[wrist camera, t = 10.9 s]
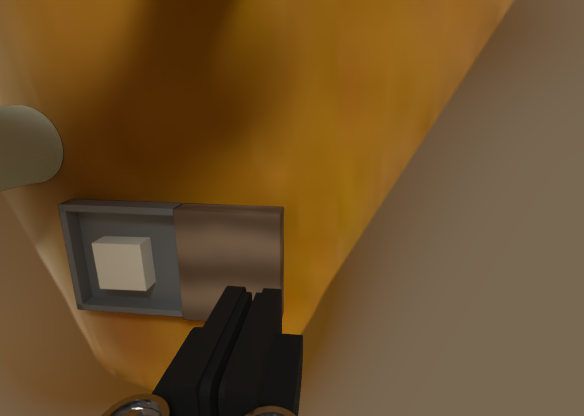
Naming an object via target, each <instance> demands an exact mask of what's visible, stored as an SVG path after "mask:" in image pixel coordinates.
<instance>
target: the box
mask: <svg viewBox="0 0 584 416" xmlns="http://www.w3.org/2000/svg"><path fill="white" fill-rule="evenodd" d="M181 205H182V203H167V202H141V201H114V200H87V199H72V200H69V201H66V202H63V203H60V204H58V208H59V214H60V219H61V224H62V229H63V235H64V240H65V245H66V250H67V256H68V261H69V266H70V271H71V277H72V282H73V287H74V293H75V298H76V303H77V308H78V309H79V310H93V311H107V312H121V313H135V314H149V315H163V316H177V317H183V310H182V299H181V288H180V277H179V266H178V255H177V245H176V234H175V223H174V212H173V210H174V209H176V208H178V207H179V206H181ZM103 236H121V237H150V241H151V248H152V256H153V263H154V270H155V278H156V282H155V283H154V284H153V285H152V286H151V287H150V288H149V289H148V290H147V291H139V290H117V289H100V286H99V281H98V275H97V270H96V265H95V259H94V254H93V249H92V243H93V242H95V241H96V240H98V239H100V238H102V237H103Z"/></svg>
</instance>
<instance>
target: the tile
mask: <svg viewBox="0 0 584 416" xmlns="http://www.w3.org/2000/svg"><path fill="white" fill-rule="evenodd" d="M92 249H93V254H94V259H95V265H96V270H97V275H98V281H99V286H100V289H117V290H139V291H147V290H148V289H149V288H150V287H151V286H152V285H153V284H154V283H155V282H156V278H155V270H154V263H153V256H152V248H151V241H150V237H121V236H103V237H102V238H100V239H98V240H96V241H95V242H93V243H92Z"/></svg>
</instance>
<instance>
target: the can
mask: <svg viewBox="0 0 584 416" xmlns="http://www.w3.org/2000/svg"><path fill="white" fill-rule="evenodd" d="M62 160H63V146H62V141H61V138H60V136H59V134H58V132H57V130H56V128H55V127H54V125H53V124H52V123H51V121H50V120H49V119H48V118H47V117H46V116H44V115H43V114H42V113H40V112H39V111H37V110H35V109H33V108H31V107H28V106H23V105H12V106H0V191H3V190H7V189H11V188H15V187H19V186H23V185H27V184H32V183H41V182H45V181H47V180H49V179H51V178H52V177H53V176H54V175H56V173H57V172H58V171H59V169H60V167H61V164H62Z"/></svg>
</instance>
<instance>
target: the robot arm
mask: <svg viewBox="0 0 584 416" xmlns="http://www.w3.org/2000/svg"><path fill="white" fill-rule="evenodd" d="M302 359H303V335H293V334H282V290H281V289H273V288H263V290H262V293H261V292H256V294H255V296H254V299H253V301H252V292H246V287H241V286H227V287H226V288H225V290H224V291H223V293H222V295H221V297H220V298H219V300H218V302H217V303H216V305H215V307H214V309H213V310H212V312H211V314H210V316H209V317H208V319H207V321H206V322H205V324H204V326H203V328H202V327H195V328H193V329H192V330H191V331H190V333H189V335H188V336H187V338H186V339H185V341H184V343H183V344H182V346H181V347H180V349H179V351H178V352H177V354H176V356H175V357H174V359H173V360H172V362H171V364H170V365H169V367H168V368H167V370H166V372H165V373H164V375H163V376H162V378H161V380H160V381H159V383H158V384H157V386H156V388H155V389H154V391H153V393H152V394H139V395H134V396H131V397H128V398H125V399H123V400H121V401H119V402H118V403H116V404H114V405H113V406H111V407H110V408H109V409H108V410H107V411H106V412H105V413H104V414H103V415H102V416H298V410H299V400H300V389H301V378H302V361H303V360H302Z"/></svg>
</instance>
